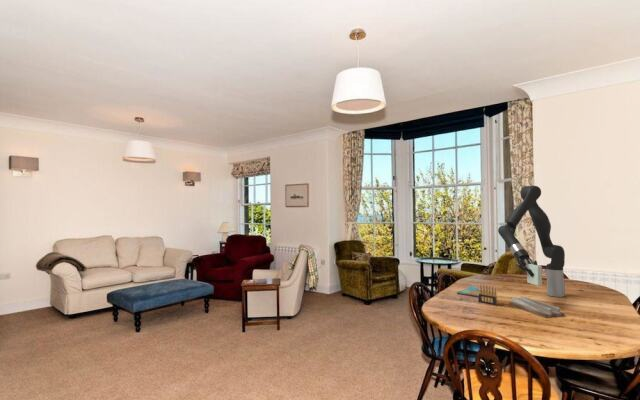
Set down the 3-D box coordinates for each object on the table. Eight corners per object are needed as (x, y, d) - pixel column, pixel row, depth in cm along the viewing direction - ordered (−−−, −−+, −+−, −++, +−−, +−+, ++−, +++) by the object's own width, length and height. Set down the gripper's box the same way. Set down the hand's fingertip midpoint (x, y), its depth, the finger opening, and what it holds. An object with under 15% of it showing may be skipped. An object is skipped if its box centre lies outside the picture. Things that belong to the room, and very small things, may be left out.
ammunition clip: (497, 305, 210) (496, 284, 211) (496, 305, 209) (495, 285, 209) (479, 301, 218) (479, 282, 219) (478, 302, 217) (477, 282, 218)
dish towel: (495, 292, 242) (494, 289, 242) (482, 299, 226) (481, 295, 226) (470, 289, 255) (470, 285, 255) (455, 294, 238) (455, 291, 238)
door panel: (531, 282, 210) (530, 264, 210) (541, 285, 202) (541, 266, 202) (527, 282, 209) (527, 264, 210) (538, 285, 202) (537, 266, 202)
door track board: (526, 303, 213) (525, 295, 213) (564, 316, 187) (564, 307, 187) (509, 304, 210) (508, 297, 210) (545, 317, 185) (545, 309, 185)
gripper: (512, 248, 214) (528, 272, 201) (532, 248, 216) (549, 271, 204) (506, 256, 219) (521, 280, 206) (525, 255, 221) (541, 279, 209)
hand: (535, 275), depth 205 cm, fingers closed on door panel, 2 cm apart
